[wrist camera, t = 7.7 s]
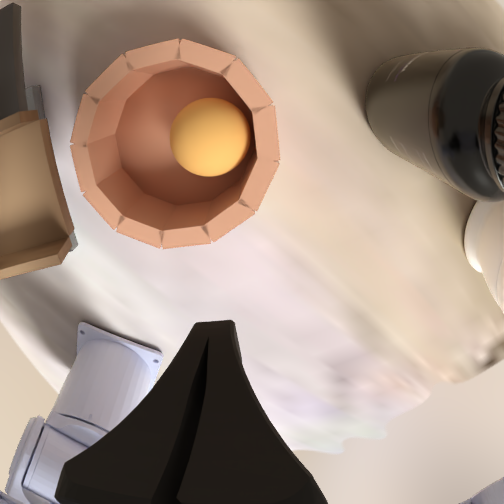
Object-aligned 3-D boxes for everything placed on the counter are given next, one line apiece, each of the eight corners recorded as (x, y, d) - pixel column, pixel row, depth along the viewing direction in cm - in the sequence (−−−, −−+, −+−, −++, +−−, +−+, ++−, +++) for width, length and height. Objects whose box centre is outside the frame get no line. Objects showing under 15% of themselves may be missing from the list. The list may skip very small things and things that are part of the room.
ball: (220, 200, 14) (192, 185, 17) (280, 144, 15) (241, 139, 18) (164, 135, 12) (146, 133, 15) (234, 77, 12) (202, 86, 15)
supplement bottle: (383, 36, 14) (527, 3, 4) (462, 91, 15) (604, 124, 5) (344, 130, 17) (468, 191, 7) (427, 175, 18) (555, 263, 8)
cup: (231, 236, 20) (227, 273, 16) (92, 184, 18) (57, 208, 14) (298, 91, 16) (315, 90, 12) (140, 35, 14) (110, 21, 10)
